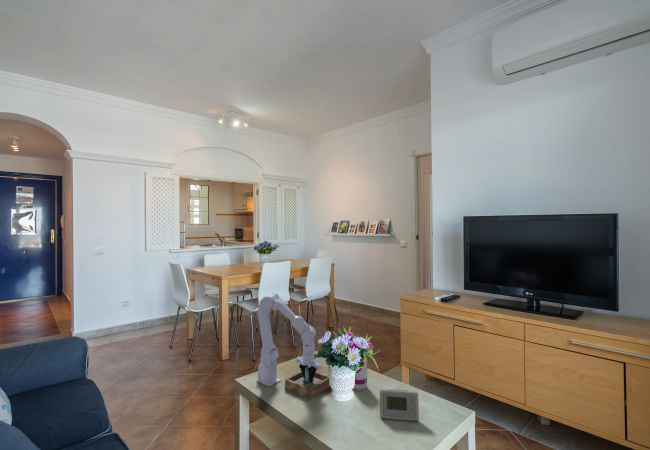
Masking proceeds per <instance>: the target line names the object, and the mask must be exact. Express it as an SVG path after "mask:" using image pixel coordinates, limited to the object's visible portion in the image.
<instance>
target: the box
mask: <svg viewBox="0 0 650 450" xmlns="http://www.w3.org/2000/svg"><path fill="white" fill-rule="evenodd" d="M329 377H330V376H329V375H327V374H324V373H321V372H318V371H316V372H315V375H314V378H313V381H311V383H310V384H307V383H305V380H304V378H303V374H302V371H301V370H299V372H296V373H294V374H293V375H291V376H289V377H287V378H284V389H285V390H287V391H290V392H293V393H295V394H297V395H298V396H299V395H300V396H301V397H304V398H305V399H308V400H312V399H313V398H315V397H316V396H318V395H319V394H320V393H321V394H322V393H323V392H324V391H326V390H328V389H329V388H330V387H329Z"/></svg>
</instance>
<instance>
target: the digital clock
mask: <svg viewBox="0 0 650 450" xmlns="http://www.w3.org/2000/svg"><path fill="white" fill-rule="evenodd" d="M419 407H420V406H419V393H418V392H417V391H413V390H405V389H404V390H403V389H391V388H390V389H388V388H387V389H384V388H382V389H380V390H379V417H380V419H387V420H389V419H394V420H393V421H401V420H405V421H404V422H412V421H413V422H418V421H419V420H420V408H419Z"/></svg>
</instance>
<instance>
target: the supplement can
mask: <svg viewBox="0 0 650 450" xmlns="http://www.w3.org/2000/svg"><path fill="white" fill-rule="evenodd" d="M363 362H364V366H363V367H362V368H360V369H359V370H357V372H356V374H355V386H354V389H355V390H354V389H353V390H354V391H365V389H367V387H368V385H367V384H368V359H367V357H366V358H364V360H363Z"/></svg>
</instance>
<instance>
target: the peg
mask: <svg viewBox="0 0 650 450" xmlns="http://www.w3.org/2000/svg"><path fill="white" fill-rule="evenodd" d="M309 367H310V366H309ZM309 367H305V383H307V384H310V383H311V382H309V373H308V369H307V368H309Z"/></svg>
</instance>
